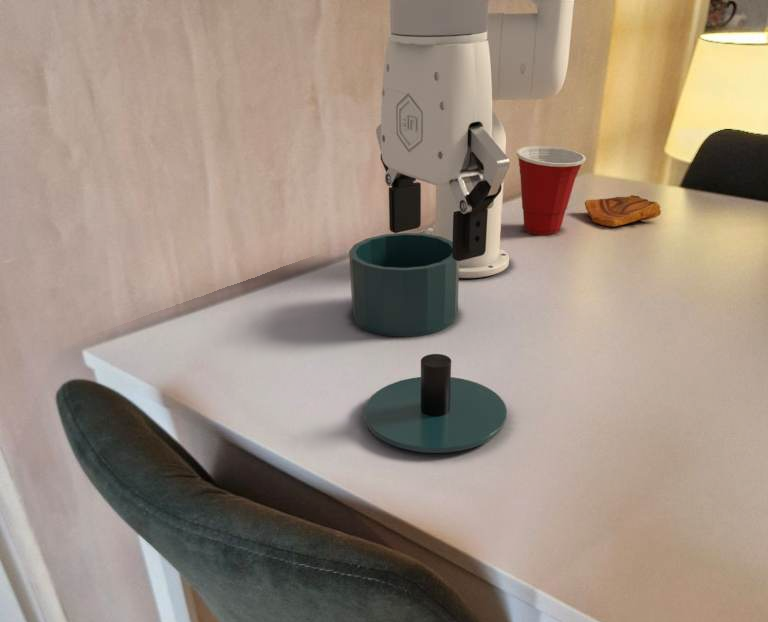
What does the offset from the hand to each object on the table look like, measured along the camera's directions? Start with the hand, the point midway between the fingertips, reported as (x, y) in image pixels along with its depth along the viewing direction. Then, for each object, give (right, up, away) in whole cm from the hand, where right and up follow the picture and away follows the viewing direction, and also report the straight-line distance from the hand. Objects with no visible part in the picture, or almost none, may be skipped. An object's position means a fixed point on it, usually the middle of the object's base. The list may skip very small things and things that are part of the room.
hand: (435, 242), depth 69 cm
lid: (+1, -14, +10) cm, 17 cm away
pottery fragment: (+35, +26, +61) cm, 75 cm away
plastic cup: (+22, +22, +58) cm, 66 cm away
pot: (-2, +2, +32) cm, 32 cm away
